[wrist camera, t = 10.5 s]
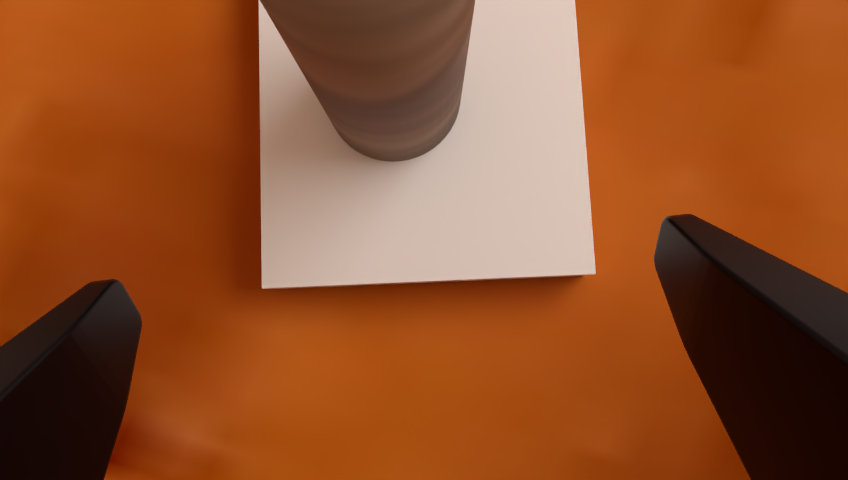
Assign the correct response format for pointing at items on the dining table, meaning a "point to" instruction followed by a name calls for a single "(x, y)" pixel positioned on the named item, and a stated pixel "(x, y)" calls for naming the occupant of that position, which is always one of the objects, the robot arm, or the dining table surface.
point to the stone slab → (435, 169)
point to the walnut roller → (381, 67)
